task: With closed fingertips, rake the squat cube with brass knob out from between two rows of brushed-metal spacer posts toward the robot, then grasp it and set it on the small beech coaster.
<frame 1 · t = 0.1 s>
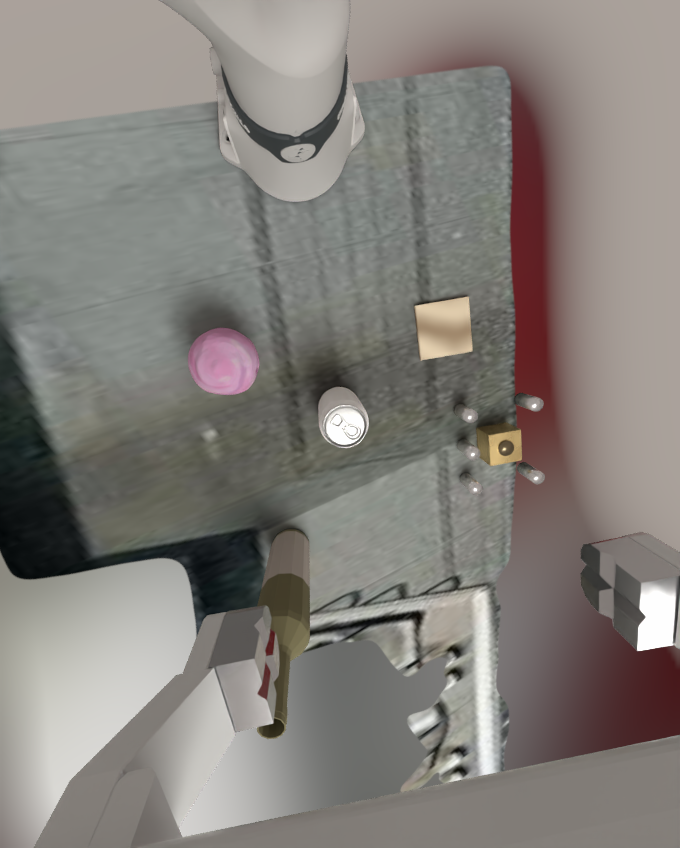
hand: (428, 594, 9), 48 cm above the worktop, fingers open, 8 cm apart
coaster: (443, 328, 55), on the worktop
bottle: (291, 542, 63), on the worktop
cupcake: (235, 358, 54), on the worktop
can: (338, 406, 57), on the worktop
spacer posts: (492, 439, 60), on the worktop
cube with brass knob: (491, 439, 60), on the worktop
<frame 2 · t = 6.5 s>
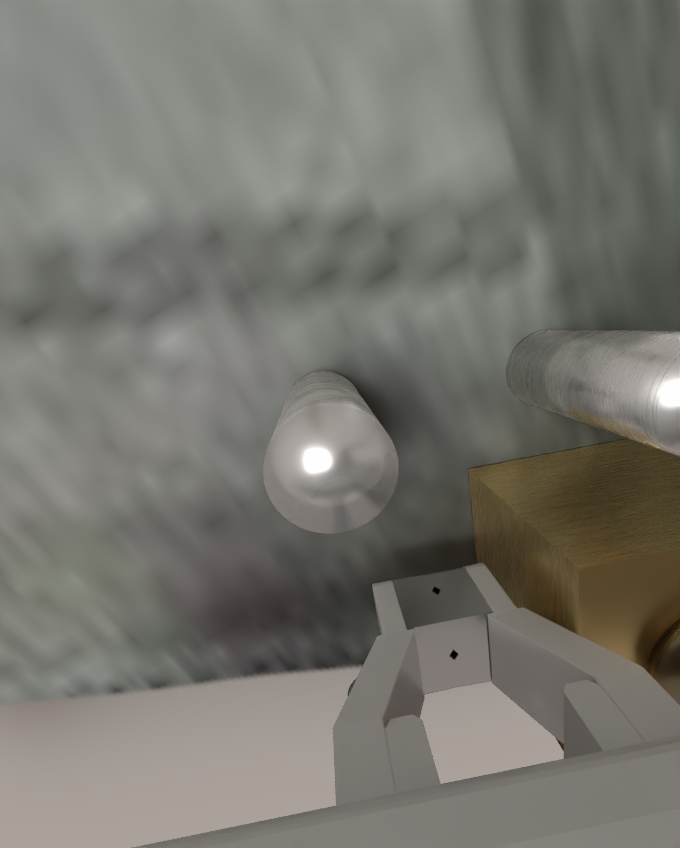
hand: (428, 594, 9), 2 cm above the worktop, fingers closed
spacer posts: (546, 530, 11), on the worktop
cube with brass knob: (554, 528, 11), on the worktop, touching gripper
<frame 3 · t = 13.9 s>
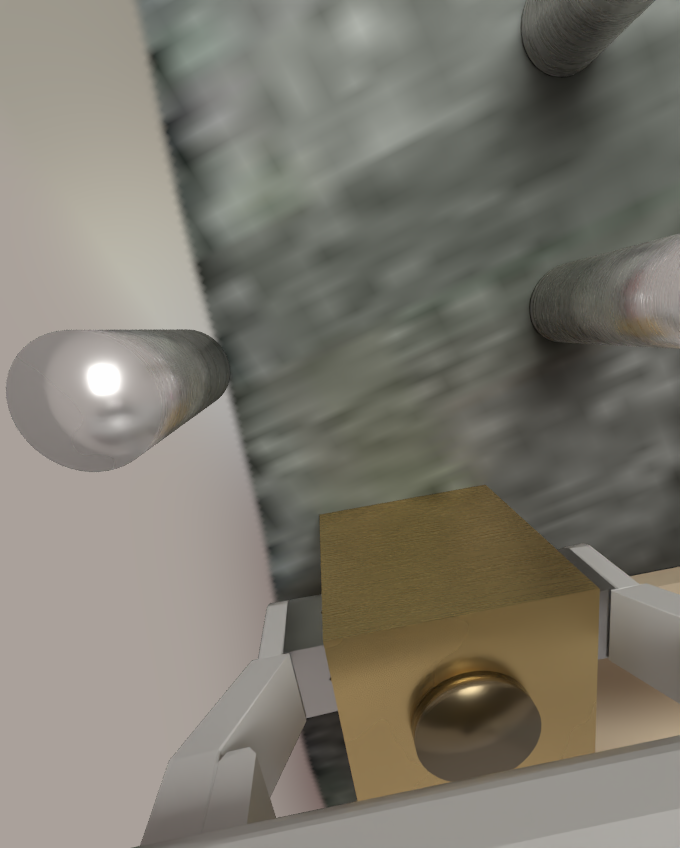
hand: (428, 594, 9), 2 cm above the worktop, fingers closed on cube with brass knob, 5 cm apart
coaster: (609, 673, 13), on the worktop
spacer posts: (343, 57, 8), on the worktop
cube with brass knob: (412, 571, 11), on the worktop, touching gripper
when the fingers open (3 cm above the worktop, at t = 19.3 s): cube with brass knob stays where it is, resting on coaster.
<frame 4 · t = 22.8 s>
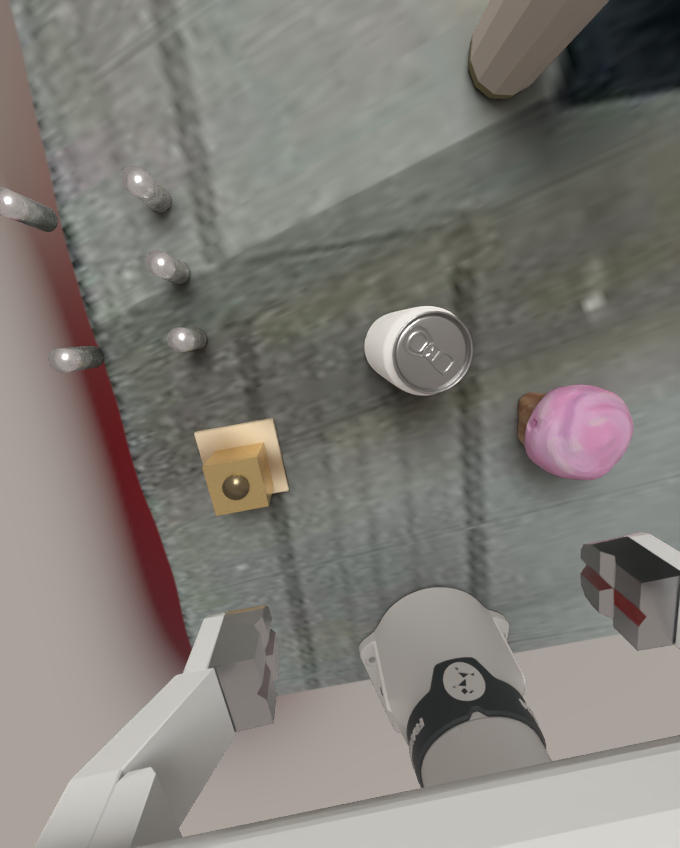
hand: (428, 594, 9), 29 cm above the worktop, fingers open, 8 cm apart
coaster: (243, 460, 38), on the worktop
bottle: (499, 63, 31), on the worktop
cupcake: (533, 415, 40), on the worktop
can: (395, 345, 37), on the worktop
spacer posts: (124, 281, 33), on the worktop
cube with brass knob: (245, 468, 38), point 1 cm above the worktop, touching coaster
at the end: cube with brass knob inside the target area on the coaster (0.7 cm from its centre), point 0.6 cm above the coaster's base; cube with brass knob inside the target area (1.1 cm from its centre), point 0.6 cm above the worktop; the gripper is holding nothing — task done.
